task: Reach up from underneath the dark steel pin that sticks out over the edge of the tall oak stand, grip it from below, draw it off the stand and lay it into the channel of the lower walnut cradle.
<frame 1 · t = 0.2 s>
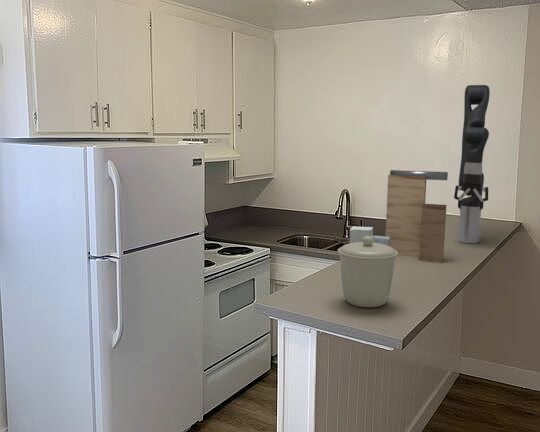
hand: (470, 209, 249), 17 cm above the worktop, tool pointing down, fingers open, 8 cm apart
pin: (418, 179, 233), point 32 cm above the worktop, touching stand
stand: (403, 253, 239), on the worktop
canister: (365, 303, 173), on the worktop
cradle: (431, 259, 228), on the worktop
skincare box: (360, 267, 216), on the worktop
medicine box: (379, 257, 232), on the worktop
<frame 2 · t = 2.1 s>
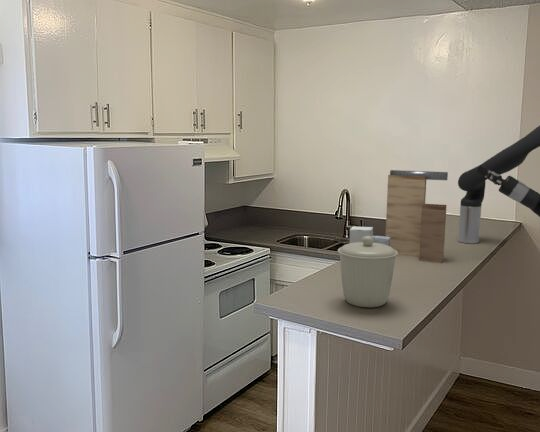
hand: (478, 168, 229), 37 cm above the worktop, tool pointing upward, fingers open, 8 cm apart
nothing on the worktop moved.
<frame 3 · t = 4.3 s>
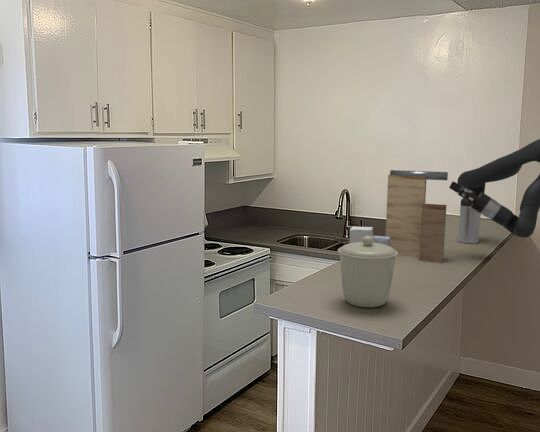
hand: (450, 184, 228), 30 cm above the worktop, tool pointing upward, fingers open, 8 cm apart
nothing on the worktop moved.
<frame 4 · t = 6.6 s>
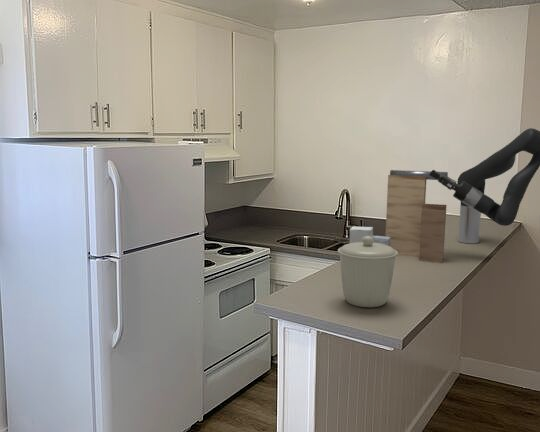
hand: (431, 172, 230), 35 cm above the worktop, tool pointing upward, fingers closed on pin, 3 cm apart
pin: (418, 179, 233), point 32 cm above the worktop, touching gripper, stand
everything else where it was.
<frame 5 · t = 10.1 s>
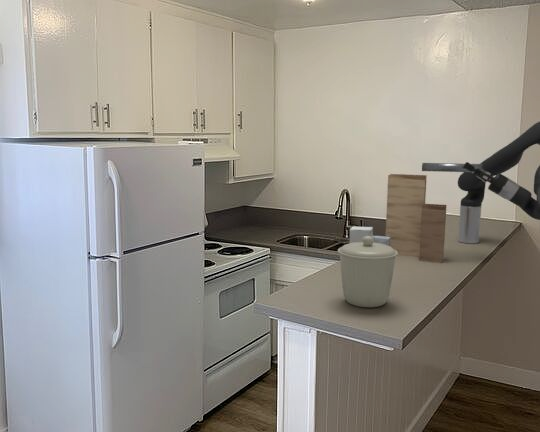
hand: (465, 164, 223), 39 cm above the worktop, tool pointing upward, fingers closed on pin, 3 cm apart
pin: (451, 171, 226), point 36 cm above the worktop, touching gripper
everything else where it was.
when the fingers open (25 cm above the worktop, at t = 13.5 s): pin drops 1 cm, resting on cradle.
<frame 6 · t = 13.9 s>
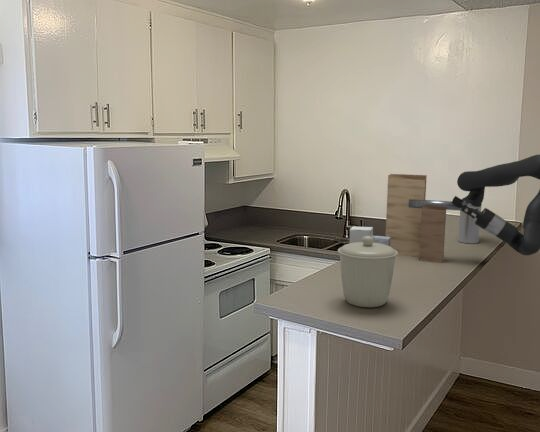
hand: (453, 199, 222), 25 cm above the worktop, tool pointing upward, fingers open, 7 cm apart
pin: (438, 209, 224), point 21 cm above the worktop, touching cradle
everything else where it was.
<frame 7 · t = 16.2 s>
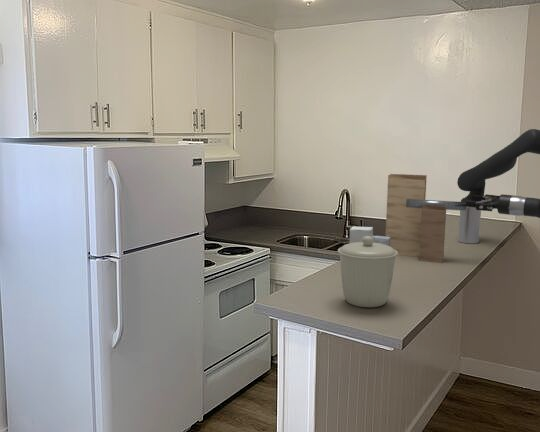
hand: (469, 200, 223), 25 cm above the worktop, tool horizontal, fingers open, 8 cm apart
pin: (435, 208, 225), point 21 cm above the worktop, touching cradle, gripper
everything else where it was.
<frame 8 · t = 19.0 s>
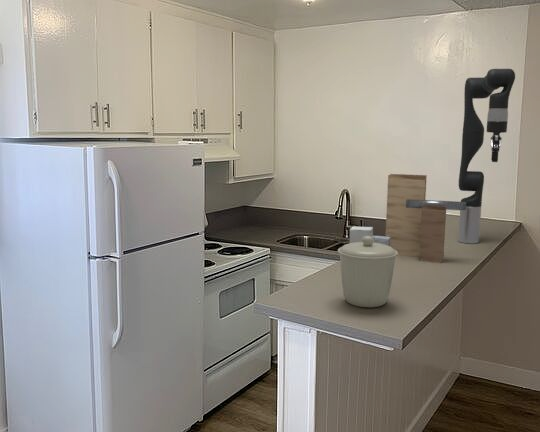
hand: (494, 161, 225), 40 cm above the worktop, tool pointing down, fingers open, 8 cm apart
pin: (435, 209, 225), point 21 cm above the worktop, touching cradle
everything else where it was.
at the end: pin inside the target area on the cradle (1.0 cm from its centre), point 21.0 cm above the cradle's base; the gripper is holding nothing; pin touching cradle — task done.
